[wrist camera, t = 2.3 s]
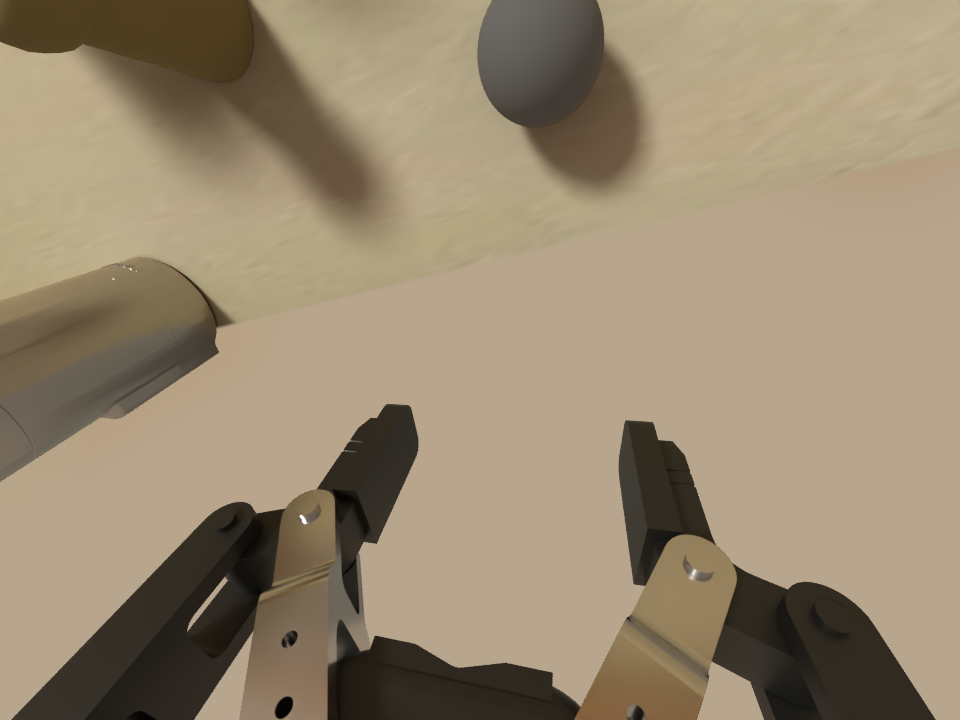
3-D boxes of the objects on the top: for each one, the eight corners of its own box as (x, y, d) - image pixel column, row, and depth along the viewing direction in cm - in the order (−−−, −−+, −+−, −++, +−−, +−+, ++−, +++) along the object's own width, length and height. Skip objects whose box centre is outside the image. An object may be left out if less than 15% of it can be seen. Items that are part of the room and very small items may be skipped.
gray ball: (595, 120, 20) (602, 122, 16) (492, 130, 21) (471, 134, 17) (605, -24, 17) (617, -74, 13) (485, -3, 18) (457, -43, 14)
